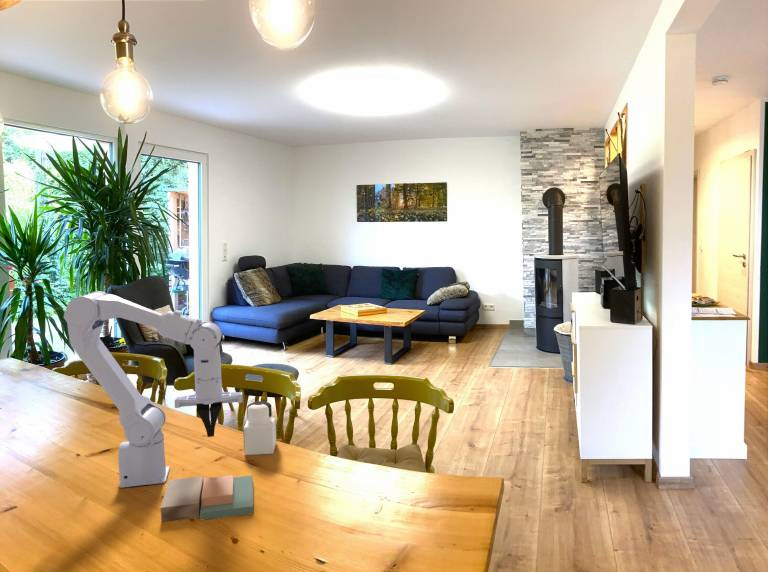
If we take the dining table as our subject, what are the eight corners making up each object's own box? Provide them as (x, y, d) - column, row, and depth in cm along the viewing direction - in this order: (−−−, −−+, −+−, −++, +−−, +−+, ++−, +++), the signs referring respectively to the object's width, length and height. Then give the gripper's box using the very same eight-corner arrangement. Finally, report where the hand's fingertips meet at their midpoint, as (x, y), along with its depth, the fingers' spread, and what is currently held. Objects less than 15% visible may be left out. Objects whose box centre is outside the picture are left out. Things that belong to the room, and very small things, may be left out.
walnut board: (161, 522, 110) (160, 507, 110) (169, 493, 122) (168, 480, 121) (199, 517, 112) (198, 503, 111) (203, 489, 123) (203, 476, 123)
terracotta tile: (201, 506, 113) (201, 498, 113) (204, 486, 122) (204, 478, 121) (233, 502, 114) (232, 494, 114) (233, 482, 123) (233, 474, 123)
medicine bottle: (248, 444, 148) (246, 399, 146) (276, 443, 148) (274, 398, 147) (244, 455, 141) (242, 408, 139) (273, 454, 141) (271, 407, 140)
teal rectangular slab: (200, 520, 111) (200, 512, 111) (205, 487, 124) (205, 480, 124) (253, 513, 113) (253, 506, 113) (252, 481, 127) (252, 475, 126)
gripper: (171, 384, 122) (175, 445, 124) (241, 379, 125) (243, 438, 127) (175, 375, 129) (178, 433, 130) (241, 370, 132) (243, 427, 134)
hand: (210, 435), depth 129 cm, fingers closed
